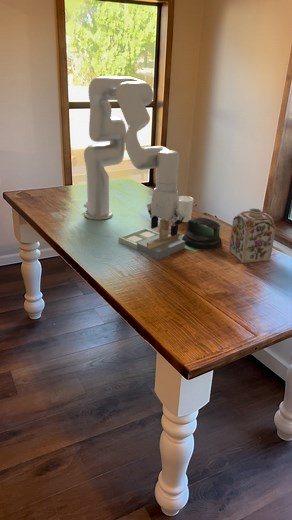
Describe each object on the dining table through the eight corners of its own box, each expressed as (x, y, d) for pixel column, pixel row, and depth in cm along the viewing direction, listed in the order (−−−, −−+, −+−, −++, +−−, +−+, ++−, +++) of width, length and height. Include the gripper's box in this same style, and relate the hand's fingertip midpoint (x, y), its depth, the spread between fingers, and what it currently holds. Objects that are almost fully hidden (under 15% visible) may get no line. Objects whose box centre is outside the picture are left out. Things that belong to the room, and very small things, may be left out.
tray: (118, 242, 166) (118, 237, 165) (145, 232, 176) (145, 227, 175) (136, 250, 160) (136, 244, 159) (163, 239, 170) (163, 234, 169)
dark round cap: (235, 242, 171) (238, 220, 167) (210, 257, 157) (212, 234, 153) (194, 229, 182) (196, 209, 178) (166, 243, 168) (168, 221, 164)
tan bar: (145, 247, 155) (146, 224, 151) (175, 236, 166) (176, 214, 162) (150, 249, 154) (151, 226, 150) (179, 238, 164) (181, 216, 160)
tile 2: (147, 237, 167) (147, 241, 167) (155, 234, 170) (155, 238, 170) (139, 234, 169) (139, 237, 170) (147, 231, 172) (147, 234, 173)
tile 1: (134, 241, 162) (134, 245, 163) (142, 238, 165) (142, 242, 166) (126, 238, 165) (126, 242, 166) (134, 235, 168) (134, 239, 168)
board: (136, 250, 160) (136, 242, 159) (163, 239, 170) (163, 232, 169) (158, 259, 153) (158, 252, 152) (184, 248, 163) (185, 241, 162)
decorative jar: (241, 263, 153) (248, 216, 145) (227, 250, 163) (233, 205, 155) (271, 261, 156) (279, 214, 148) (255, 248, 166) (262, 204, 158)
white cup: (191, 217, 195) (193, 196, 190) (191, 223, 188) (193, 201, 183) (174, 216, 195) (176, 195, 191) (173, 222, 188) (175, 200, 184)
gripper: (141, 183, 153) (140, 227, 160) (178, 194, 142) (175, 241, 150) (155, 179, 158) (153, 222, 165) (192, 189, 147) (188, 235, 155)
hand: (163, 231), depth 158 cm, fingers open, 9 cm apart
